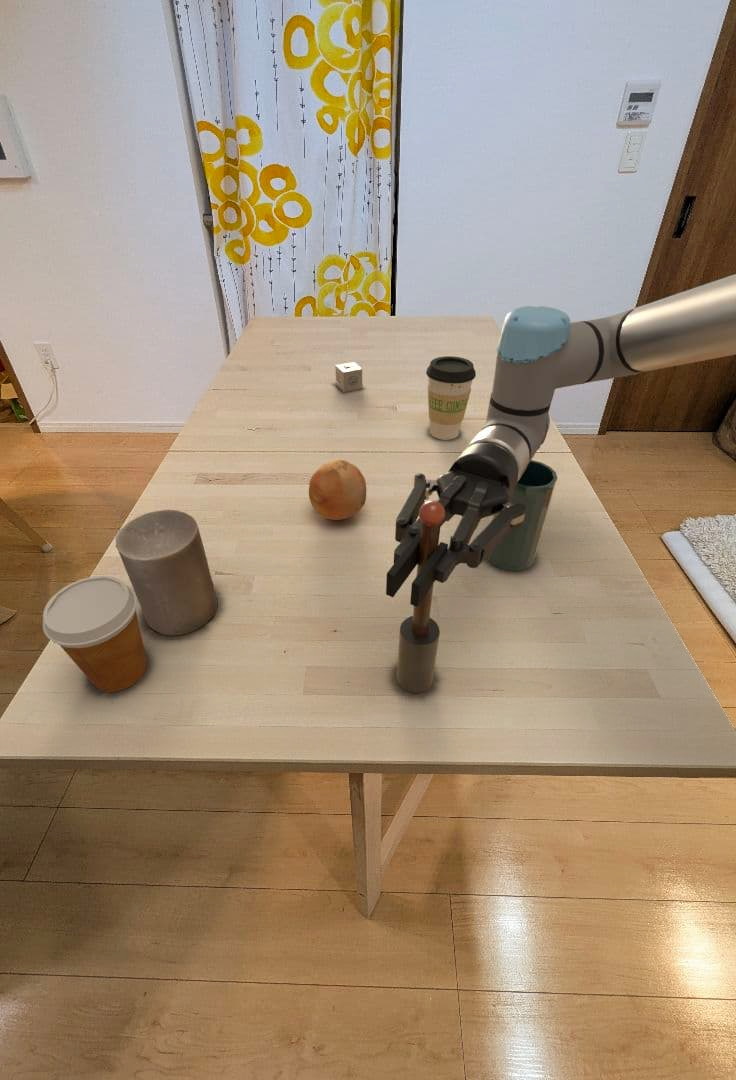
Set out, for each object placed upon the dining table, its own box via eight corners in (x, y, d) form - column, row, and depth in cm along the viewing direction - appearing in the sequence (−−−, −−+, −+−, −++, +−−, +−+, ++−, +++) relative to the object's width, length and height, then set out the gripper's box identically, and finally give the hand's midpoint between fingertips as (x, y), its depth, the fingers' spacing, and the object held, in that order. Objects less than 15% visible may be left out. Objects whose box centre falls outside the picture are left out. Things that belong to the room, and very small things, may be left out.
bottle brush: (440, 681, 63) (468, 505, 46) (413, 700, 61) (432, 524, 44) (416, 657, 65) (434, 483, 49) (389, 675, 63) (398, 500, 47)
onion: (320, 494, 93) (317, 444, 87) (373, 502, 91) (374, 452, 85) (301, 525, 86) (296, 474, 80) (358, 535, 84) (358, 484, 78)
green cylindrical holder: (543, 558, 80) (568, 475, 71) (512, 578, 77) (533, 494, 67) (506, 534, 85) (525, 453, 75) (475, 552, 81) (490, 470, 72)
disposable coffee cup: (125, 629, 69) (96, 562, 61) (176, 659, 65) (152, 592, 57) (60, 681, 62) (18, 614, 55) (113, 718, 59) (75, 651, 51)
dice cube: (336, 384, 131) (335, 365, 128) (354, 381, 132) (353, 362, 129) (343, 392, 127) (343, 372, 124) (362, 388, 129) (362, 369, 126)
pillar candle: (220, 582, 76) (200, 497, 66) (215, 633, 68) (191, 546, 59) (151, 588, 75) (120, 503, 65) (138, 641, 67) (101, 554, 58)
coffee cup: (422, 443, 108) (428, 373, 98) (420, 421, 115) (425, 354, 106) (469, 444, 108) (480, 374, 98) (464, 422, 115) (473, 355, 106)
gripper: (543, 512, 62) (474, 649, 46) (429, 479, 68) (333, 591, 52) (558, 458, 57) (487, 589, 41) (434, 426, 63) (330, 532, 47)
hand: (402, 590), depth 47 cm, fingers closed on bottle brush, 2 cm apart
